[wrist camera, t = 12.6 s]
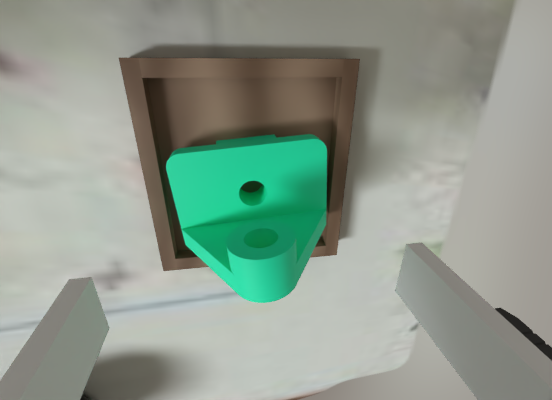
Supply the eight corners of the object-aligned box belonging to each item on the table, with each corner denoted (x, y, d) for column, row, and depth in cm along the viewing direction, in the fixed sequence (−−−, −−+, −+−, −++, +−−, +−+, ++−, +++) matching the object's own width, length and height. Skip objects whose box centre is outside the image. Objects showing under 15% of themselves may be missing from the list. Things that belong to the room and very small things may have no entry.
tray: (167, 257, 28) (163, 270, 26) (128, 57, 20) (118, 57, 19) (330, 243, 30) (336, 254, 29) (349, 59, 23) (359, 59, 21)
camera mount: (317, 129, 24) (373, 173, 15) (317, 210, 27) (363, 286, 18) (169, 145, 23) (130, 204, 14) (189, 227, 26) (169, 319, 17)
